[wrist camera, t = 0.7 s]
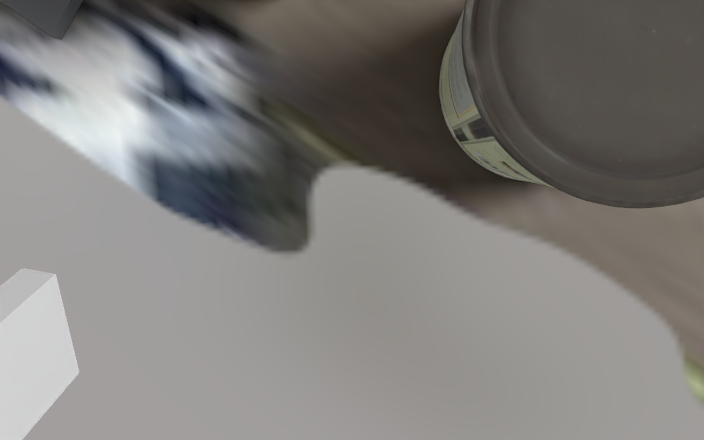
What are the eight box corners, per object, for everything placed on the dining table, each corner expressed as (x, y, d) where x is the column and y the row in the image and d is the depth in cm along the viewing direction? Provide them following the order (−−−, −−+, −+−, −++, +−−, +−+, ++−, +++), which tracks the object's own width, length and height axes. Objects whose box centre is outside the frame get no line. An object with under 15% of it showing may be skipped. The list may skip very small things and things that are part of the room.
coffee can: (643, -28, 29) (862, -190, 15) (637, 179, 30) (835, 205, 16) (435, -16, 30) (461, -158, 16) (437, 184, 31) (464, 212, 17)
